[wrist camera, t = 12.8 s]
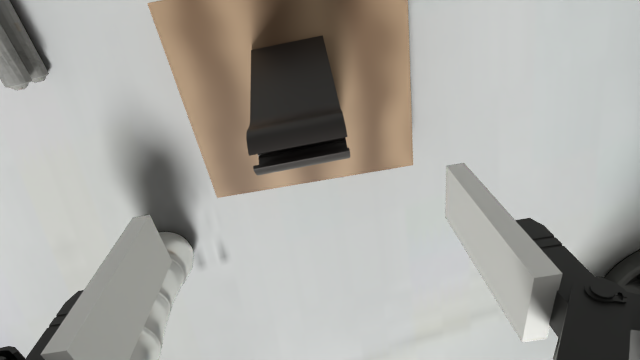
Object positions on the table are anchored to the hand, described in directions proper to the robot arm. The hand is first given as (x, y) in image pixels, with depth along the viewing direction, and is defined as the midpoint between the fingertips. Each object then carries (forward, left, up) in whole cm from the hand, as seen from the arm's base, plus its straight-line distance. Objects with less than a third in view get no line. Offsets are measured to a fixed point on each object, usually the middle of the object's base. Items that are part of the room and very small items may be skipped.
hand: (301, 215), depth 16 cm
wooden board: (0, 0, -22) cm, 22 cm away
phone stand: (0, 0, -19) cm, 19 cm away
